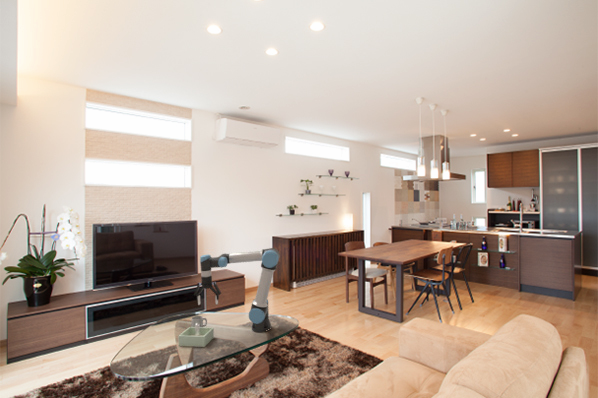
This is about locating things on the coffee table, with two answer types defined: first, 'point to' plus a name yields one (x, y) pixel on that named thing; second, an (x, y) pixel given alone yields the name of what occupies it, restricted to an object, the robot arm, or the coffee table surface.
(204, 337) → the box
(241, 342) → the coffee table surface
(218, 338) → the coffee table surface
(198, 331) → the peg
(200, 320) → the mug
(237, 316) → the coffee table surface
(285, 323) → the coffee table surface
